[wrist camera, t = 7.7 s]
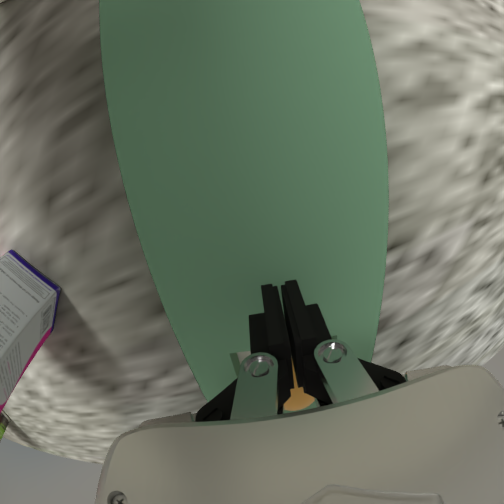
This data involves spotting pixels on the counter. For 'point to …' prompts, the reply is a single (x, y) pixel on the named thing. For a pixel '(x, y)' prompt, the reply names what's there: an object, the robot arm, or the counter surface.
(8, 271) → the supplement box
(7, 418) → the coffee can
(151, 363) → the counter surface
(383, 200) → the green
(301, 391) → the ball
